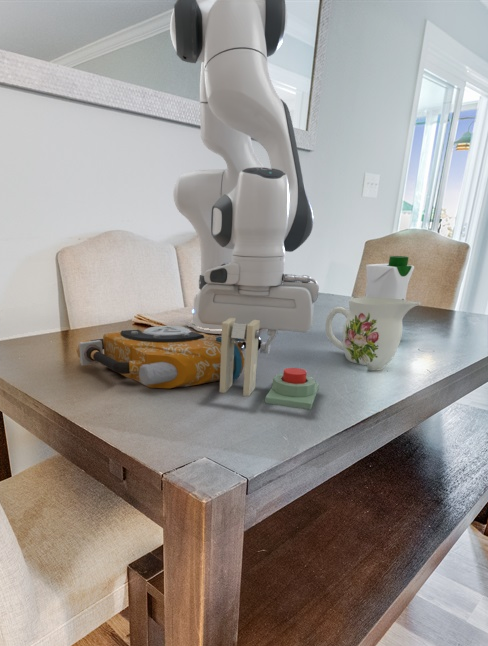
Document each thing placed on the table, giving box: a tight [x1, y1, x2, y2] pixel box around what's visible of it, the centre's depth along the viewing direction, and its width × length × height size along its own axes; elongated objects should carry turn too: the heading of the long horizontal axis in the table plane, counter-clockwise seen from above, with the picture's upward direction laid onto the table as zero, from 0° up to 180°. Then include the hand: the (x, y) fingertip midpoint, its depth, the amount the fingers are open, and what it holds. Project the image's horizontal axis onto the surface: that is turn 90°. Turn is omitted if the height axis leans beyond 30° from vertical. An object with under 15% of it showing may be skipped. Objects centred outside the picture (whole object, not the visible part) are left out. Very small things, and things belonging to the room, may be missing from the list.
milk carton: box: [364, 255, 415, 300], centre depth 112 cm, size 9×9×20 cm
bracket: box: [219, 318, 261, 397], centre depth 75 cm, size 10×8×13 cm
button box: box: [264, 373, 320, 410], centre depth 75 cm, size 10×7×4 cm
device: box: [75, 325, 245, 389], centre depth 87 cm, size 23×8×30 cm
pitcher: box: [325, 296, 422, 371], centre depth 93 cm, size 11×18×14 cm, turn 46°
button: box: [282, 367, 308, 384], centre depth 74 cm, size 4×4×2 cm
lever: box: [231, 323, 263, 351], centre depth 78 cm, size 13×3×3 cm, turn 158°
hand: (252, 351), depth 84 cm, fingers closed on lever, 3 cm apart
